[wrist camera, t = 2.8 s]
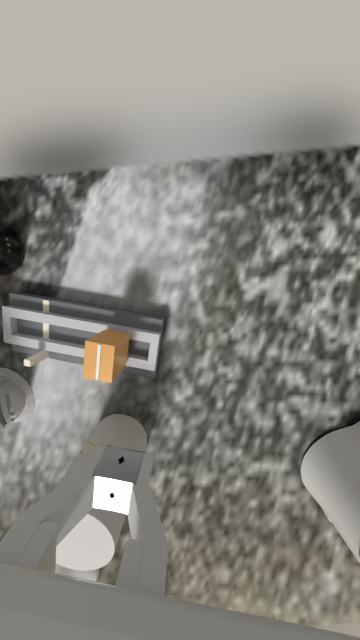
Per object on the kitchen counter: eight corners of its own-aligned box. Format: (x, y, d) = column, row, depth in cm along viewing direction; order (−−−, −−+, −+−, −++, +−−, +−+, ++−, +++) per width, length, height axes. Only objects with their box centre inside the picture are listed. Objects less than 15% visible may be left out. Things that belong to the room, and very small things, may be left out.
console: (164, 317, 25) (158, 326, 20) (156, 372, 27) (148, 391, 22) (20, 291, 26) (-17, 294, 21) (22, 346, 27) (-12, 359, 23)
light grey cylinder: (98, 409, 29) (31, 498, 17) (150, 420, 28) (118, 519, 17) (94, 451, 31) (31, 558, 19) (143, 462, 30) (110, 579, 19)
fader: (132, 331, 24) (114, 346, 18) (129, 360, 25) (111, 383, 19) (109, 326, 24) (84, 341, 18) (107, 356, 25) (82, 377, 19)
